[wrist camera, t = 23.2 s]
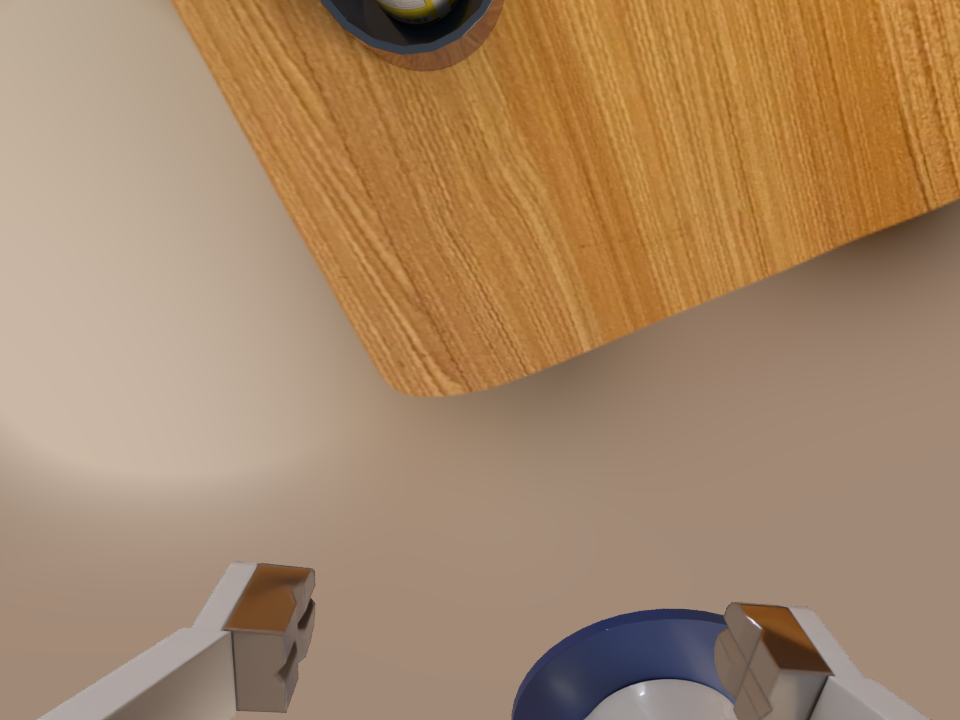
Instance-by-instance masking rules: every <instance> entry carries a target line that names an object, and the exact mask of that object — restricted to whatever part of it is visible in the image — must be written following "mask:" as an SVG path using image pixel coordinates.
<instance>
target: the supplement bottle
mask: <svg viewBox="0 0 960 720" xmlns="http://www.w3.org/2000/svg"><path fill="white" fill-rule="evenodd" d="M375 2H376V3H377V4H378V5H379V6H380V8H381V9H382V10H383V11H384V12H385V13H387V14H388V15H389V16H390V17H391V18H393V19H395V20H396V21H398V22H400V23H403V24H406V25H410V26H426V25H430V24H433V23H435V22H437V21H439V20H441V19H442V18H444V17H445V16H446V15H447V14H448V13H449V12H450V11H451V10H452V9H453V8H454V6H455V5H456V3H457V2H458V0H375Z"/></svg>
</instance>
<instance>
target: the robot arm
mask: <svg viewBox="0 0 960 720" xmlns="http://www.w3.org/2000/svg"><path fill="white" fill-rule="evenodd" d="M314 587H315V571H314V570H313V569H312V568H303V567H293V566H283V565H274V564H264V563H261V564H258V563H249V562H240V561H234V562H233V563H232V564H231V565H229V566H228V568H227V569H226V571H225V572H224V574H223V576H222V577H221V579H220V581H219V582H218V584H217V586H216V587H215V589H214V591H213V592H212V594H211V595H210V597H209V599H208V600H207V602H206V604H205V605H204V607H203V609H202V610H201V612H200V614H199V615H198V617H197V618H196V620H195V622H194V623H193V625H192V627H191V628H181V629H179V630H178V631H176V632H175V633H173V634H171V635H170V636H168V637H167V638H165V639H164V640H162V641H160V642H159V643H157V644H156V645H154V646H153V647H151V648H149V649H148V650H146V651H145V652H143V653H141V654H140V655H138V656H137V657H135V658H134V659H132V660H130V661H129V662H127V663H126V664H124V665H122V666H121V667H119V668H118V669H116V670H115V671H113V672H111V673H110V674H108V675H107V676H105V677H104V678H102V679H100V680H99V681H97V682H96V683H94V684H92V685H91V686H89V687H88V688H86V689H85V690H83V691H81V692H80V693H78V694H77V695H75V696H73V697H72V698H70V699H69V700H67V701H66V702H64V703H62V704H61V705H59V706H58V707H56V708H54V709H53V710H51V711H50V712H48V713H47V714H45V715H43V716H42V717H40V718H39V719H37V720H231V719H232V718H233V717H234V716H235V715H236V714H237V713H236V711H257V712H281V713H286V712H287V709H288V706H289V703H290V701H291V698H292V695H293V692H294V689H295V686H296V683H297V681H298V663H299V662H300V661H301V660H302V659H304V658H305V657H306V654H307V651H308V648H309V645H310V642H311V637H312V632H313V627H314V620H315V602H314V601H313V600H312V599H311V595H312V592H313V590H314ZM724 619H725V621H726V623H727V625H728V627H727V628H725V629H724V630H723V631H721V632H720V633H719V634H718V635H717V638H716V642H715V645H714V664H715V668H716V672H717V675H718V678H719V680H720V682H721V685H722V687H723V688H724V689H725V690H726V691H727V692H728V693H730V694H731V695H732V696H733V697H734V698H735V699H736V701H735V704H734V705H733V703H732V702H731V701H730V700H729V699H728V698H726V697H725V696H724V695H722V694H721V693H720V692H718V691H716V690H714V689H712V688H710V687H708V686H705V685H702V684H699V683H696V682H691V681H686V680H677V679H660V680H651V681H645V682H641V683H637V684H634V685H631V686H628V687H625V688H623V689H621V690H619V691H617V692H615V693H613V694H612V695H610V696H608V697H607V698H606V699H604V700H603V701H602V702H601V703H599V704H598V705H597V706H596V708H595V709H594V710H593V711H592V712H591V713H590V714H589V715H588V716H587V717H586V718H585V719H584V720H931V719H930V718H928V717H927V716H925V715H923V714H922V713H921V712H919V711H918V710H917V709H915V708H914V707H912V706H911V705H909V704H908V703H906V702H905V701H904V700H902V699H901V698H899V697H897V696H896V695H895V694H893V693H892V692H891V691H889V690H888V689H886V688H885V687H883V686H882V685H880V684H879V683H878V682H876V681H875V680H872V679H865V678H864V677H863V675H862V674H861V673H860V671H859V670H858V669H857V667H856V666H855V665H854V663H853V662H852V661H851V659H850V658H849V657H848V656H847V654H846V653H845V651H844V650H843V648H842V647H841V646H840V645H839V643H838V642H837V640H836V639H835V638H834V637H833V635H832V634H831V632H830V631H829V630H828V628H827V627H826V626H825V624H824V623H823V622H822V621H821V619H820V618H819V616H818V615H817V614H816V612H815V611H813V610H812V609H810V608H809V607H804V606H803V607H802V606H788V605H782V606H780V605H768V604H754V603H741V602H731V603H730V604H729V605H728V607H727V608H726V611H725V614H724Z"/></svg>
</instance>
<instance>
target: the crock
mask: <svg viewBox="0 0 960 720" xmlns="http://www.w3.org/2000/svg"><path fill="white" fill-rule="evenodd" d="M321 2H322V3H323V5H324V6H325V7H326V8H327V9H328V11H329V12H330V13H331V14H332V15H333V17H334V18H335V19H336V20H337V21H338V23H339V24H340V25H341V26H342V28H344V29H345V30H346V31H347V32H348V33H349V34H351V35H352V36H353V37H354V38H355V39H357V40H358V41H359V42H360V43H361V44H363V45H364V46H365V47H366V48H367V49H369V50H370V51H372V52H373V53H375V54H376V55H378V56H379V57H380V58H382V59H384V60H385V61H387V62H388V63H390V64H392V65H395V66H398V67H401V68H404V69H408V70H414V71H435V70H440V69H444V68H447V67H450V66H453V65H455V64H457V63H459V62H461V61H463V60H464V59H465V58H467V57H468V56H470V55H471V54H472V53H473V52H474V51H476V50H477V49H478V48H479V47H480V46H481V45H482V43H483V42H484V41H485V40H486V39H487V37H488V36H489V34H490V33H491V31H492V30H493V28H494V26H495V24H496V22H497V20H498V18H499V16H500V13H501V11H502V8H503V4H504V0H458V2H457V3H456V5H455V6H454V8H453V9H452V10H451V11H450V12H449V13H448V14H447V15H446V16H445V17H444V18H442V19H441V20H439V21H437V22H435V23H433V24H430V25H426V26H410V25H406V24H403V23H400V22H398V21H396V20H395V19H393V18H391V17H390V16H389V15H388V14H387V13H385V12H384V11H383V10H382V9H381V8H380V6H379V5H378V4H377V3H376V2H375V0H321Z"/></svg>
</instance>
